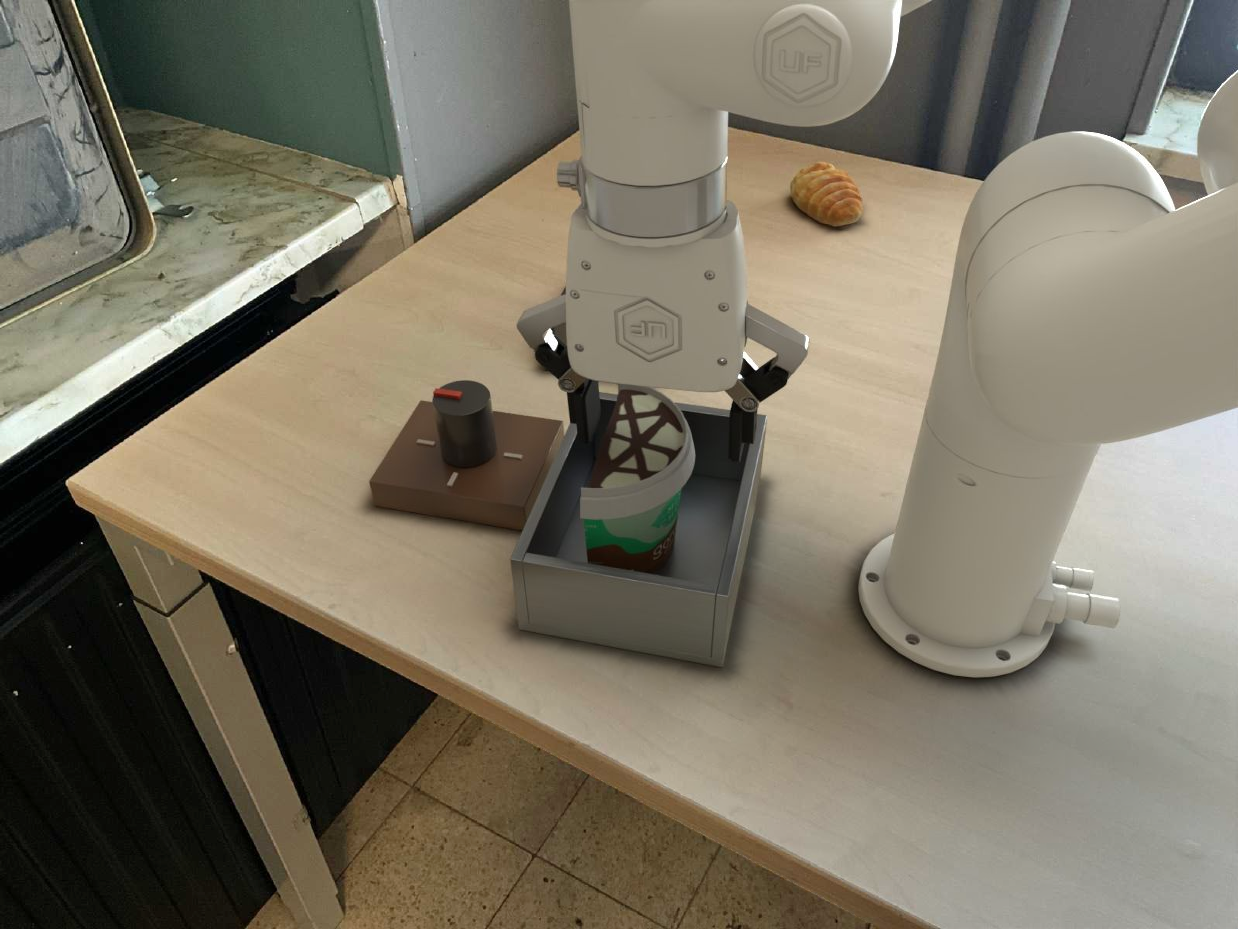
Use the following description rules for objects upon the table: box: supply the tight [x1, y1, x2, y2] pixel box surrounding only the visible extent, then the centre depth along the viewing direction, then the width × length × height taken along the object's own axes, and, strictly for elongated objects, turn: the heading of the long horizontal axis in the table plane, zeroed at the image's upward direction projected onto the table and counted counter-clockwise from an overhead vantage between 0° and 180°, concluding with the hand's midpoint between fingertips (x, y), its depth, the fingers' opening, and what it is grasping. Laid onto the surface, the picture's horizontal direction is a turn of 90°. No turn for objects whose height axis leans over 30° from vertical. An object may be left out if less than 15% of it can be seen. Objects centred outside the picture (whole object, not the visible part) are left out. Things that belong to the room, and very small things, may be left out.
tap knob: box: [431, 379, 497, 468], centre depth 74 cm, size 4×4×5 cm
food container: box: [580, 384, 695, 574], centre depth 67 cm, size 12×6×10 cm, turn 168°
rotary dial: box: [368, 399, 565, 531], centre depth 76 cm, size 12×10×3 cm
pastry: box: [789, 161, 864, 228], centre depth 107 cm, size 9×7×4 cm
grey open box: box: [509, 391, 768, 668], centre depth 69 cm, size 14×18×7 cm
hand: (662, 438), depth 64 cm, fingers open, 9 cm apart
